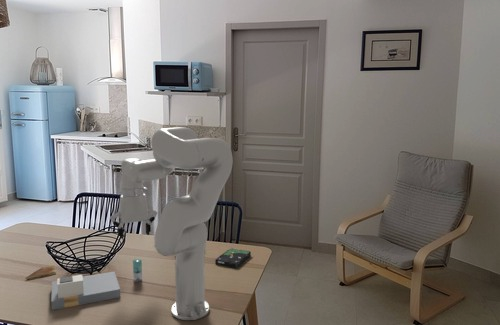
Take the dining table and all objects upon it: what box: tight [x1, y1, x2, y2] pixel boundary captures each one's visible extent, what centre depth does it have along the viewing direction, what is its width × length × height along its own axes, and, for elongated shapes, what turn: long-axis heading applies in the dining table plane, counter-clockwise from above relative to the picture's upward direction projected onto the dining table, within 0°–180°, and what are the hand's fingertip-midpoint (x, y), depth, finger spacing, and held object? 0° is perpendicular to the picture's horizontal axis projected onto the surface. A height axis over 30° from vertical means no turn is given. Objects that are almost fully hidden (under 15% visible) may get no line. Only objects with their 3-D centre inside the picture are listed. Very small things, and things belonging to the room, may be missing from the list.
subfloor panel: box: [50, 271, 121, 311], centre depth 148 cm, size 16×22×3 cm
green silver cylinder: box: [132, 258, 143, 283], centre depth 159 cm, size 3×3×8 cm
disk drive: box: [214, 247, 252, 269], centre depth 180 cm, size 10×3×15 cm
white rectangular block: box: [56, 274, 84, 298], centre depth 142 cm, size 5×8×5 cm, turn 115°
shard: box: [25, 265, 57, 280], centre depth 164 cm, size 11×8×2 cm
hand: (134, 235), depth 156 cm, fingers open, 9 cm apart
